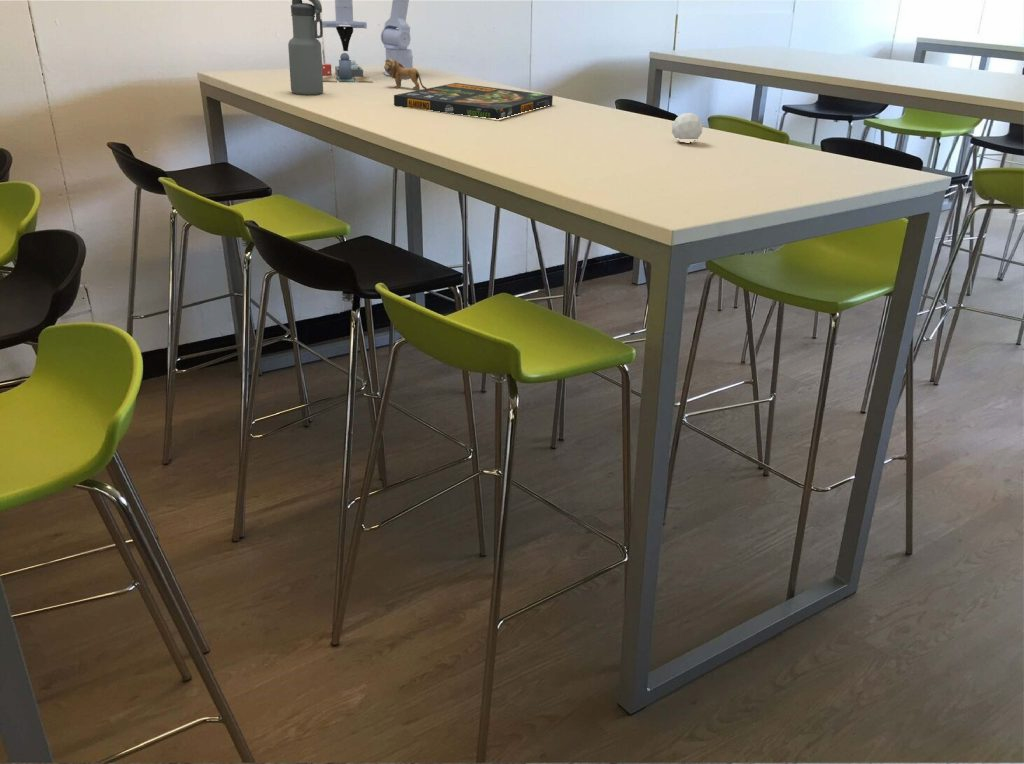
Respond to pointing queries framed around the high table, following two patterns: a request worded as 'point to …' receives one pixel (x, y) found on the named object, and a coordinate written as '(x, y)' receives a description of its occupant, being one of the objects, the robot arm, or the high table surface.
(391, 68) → the lion figurine
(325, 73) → the red die
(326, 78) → the track
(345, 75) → the pawn
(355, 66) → the dome
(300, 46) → the water bottle
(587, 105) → the high table surface
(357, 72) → the dome frame
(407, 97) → the board game box
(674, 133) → the geometric ball
